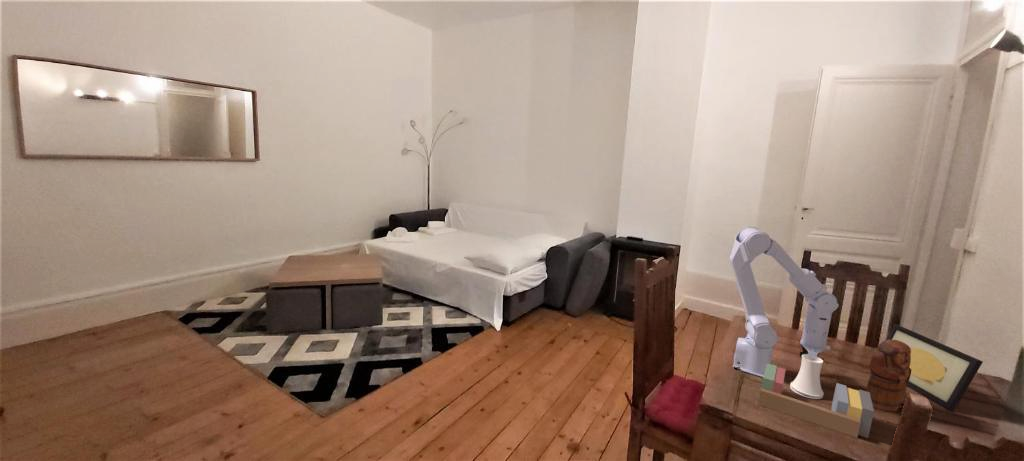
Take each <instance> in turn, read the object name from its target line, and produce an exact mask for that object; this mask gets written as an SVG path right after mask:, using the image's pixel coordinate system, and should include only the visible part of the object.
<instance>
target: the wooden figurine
mask: <svg viewBox="0 0 1024 461" xmlns="http://www.w3.org/2000/svg"><path fill="white" fill-rule="evenodd" d="M910 353H911V349H910V347H909V346H908V345H907V344H905V343H903V342H901V341H898V340H886V339H885V340H884V341H882V342H881V343H880V344H879V345H878V346H877V351H875V352H874V353H873V355H872V356H871V358H870V364H869V370H870V376H869V379H868V380H867V381H868V382H867V386H866V390H865V391H866V392H870V397H871V401H872V405H873V409H877V410H881V411H884V412H885V411H886V412H897V411H898V410H899V409H901V408H902V407H903V406H902V405H903V404H905V399H906V397H907V385H906V383H907V382H909V379H910V375H911V369H910V368H909V366H910V362H911V355H910Z"/></svg>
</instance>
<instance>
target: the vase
mask: <svg viewBox="0 0 1024 461" xmlns="http://www.w3.org/2000/svg"><path fill="white" fill-rule="evenodd" d="M821 358H822V357H819V356H818V357H817V359H812V358H808V354H803V355H802V360H801V363H800V368H799V371H798V374H797V375H796V377H795V378H794V380H793V381H791V382H790V385H789V387H790V389H791V390H792V391H793V392H794V393H795V394H798V395H800V396H801V397H805V398H808V399H812V400H820V399H823V397H824V391H823V389H822V385H821V369H822V366H823V363H824V362H823V360H822V359H821Z"/></svg>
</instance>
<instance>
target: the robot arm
mask: <svg viewBox="0 0 1024 461" xmlns="http://www.w3.org/2000/svg"><path fill="white" fill-rule="evenodd" d="M761 254H765V255H767V256H771V257H772V258H773V259H774V261H776V263H778V264H779V266H781V267H782V268H783V269H784V270H785V271H786V273H788V274H789V275H788V276H789V277H788V280H789V281H788V282H790V284H792V286H793V287H795V289H796V290H797V291H798V292H799V293H800V294H801V295H802V296H803V297H804V299H805V301H806V302H807V308H806V314H805V318H804V320H805V321H804V325H803V330H802V335H801V339H800V342H799V343H800V346H801V350H802V351H799V358H800V359H801V361H802V355H803V354H808V358H812V359H817V357H819V355H820V354H821V353H822V352H824V351H831V346H830V345H827V340H828V335H829V332H830V331H829V329H830V326H831V320H832V315H833V313H834V311H836V310H837V309H838V308H839V306H840V305H839V303H838V299H837V297H836V296H835V295H834V294H832V293H831V292H829V291H828V290H827V289H828V286H827V285H826V284H824V283H823V284H822V282H820V281H819V279H818V278H817V277H816V276H817V273H815V271H813V270H809V269H807V268H801V267H800V266H799V265H798V264H797V263H796V262H795V261H794V260H793V258H792V257H791V256H790V255H789V254H788V252H787V251H786V250H785V249H784V248H783V247H782V246H781V245H780V243H778V242H777V241H776V240H775V239H773V238H772V237H771V236H770V235H769V234H768V233H766V232H764V231H761V230H759V229H758V228H757V227H754V226H746V227H743V228H742V229H741V230H740V231H738V233H737V235H735V237H734V243H733V246H732V250H731V252H730V255H729V262H730V266H731V268H732V272H733V275H734V278H735V282H736V284H737V288H738V292H739V295H740V297H741V301H742V305H743V307H744V311H745V314H744V316H745V325H744V327H745V330H746V332H747V335H746V336H745V337H738V338H737V341H736V346H735V352H734V355H733V363H732V364H733V365H732V368H733V367H734V366H735V367H740V369H741V370H740V371H741V372H745V373H748V374H751V375H754V376H758V377H761V378H763V375H764V371H765V367H766V364H767V363H768V364H771V360H772V354H773V348H774V346H775V345H776V343H777V342H778V338H779V336H778V333H777V332H776V330H774V329H773V328H772V325H771V322H770V321H769V318H768V316H767V314H766V312H765V309H764V306H763V302H762V299H761V295H760V292H759V289H758V285H757V282H756V280H755V275H754V272H753V269H752V265H751V263H752V262H753V261H754V260H755V259H756V258H757V257H758V256H759V257H760V255H761ZM820 358H821V359H822V360H823V363H824V362H825V358H822V357H820ZM737 362H739V363H740V364H739V363H737Z"/></svg>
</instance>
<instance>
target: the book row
mask: <svg viewBox="0 0 1024 461" xmlns="http://www.w3.org/2000/svg"><path fill="white" fill-rule="evenodd" d="M785 375H786V368H784V367H780V366H777V365H775V364H772V363H770V364H768V363H767V364H766V367H765V371H764V375H763V377H762V380H761V386H760V391H759V396H758V405H760V406H762V407H765V408H767V409H771V410H774V411H776V412H780V413H783V414H785V415H788V416H791V417H793V418H797V419H801V420H803V421H806V422H809V423H812V424H814V425H815V424H816V425H818V426H819V427H820V426H821V427H823V428H827V429H830V430H833V431H836V432H839V433H841V434H844V435H848V436H851V437H853V438H855V439H858V436H859V437H863V438H866V439H869V436H870V431H871V428H872V422H873V418H874V413H875V411H874V409H875V408H874V407H873V405H872V401H871V397H870V392H866V390H863V389H853V388H850V387H847V385H845V384H841V383H838V382H836V384H835V389H834V393H833V398H832V403H831V409H828V408H825V407H822V406H819V405H816V404H813V403H809V402H807V401H805V400H801V399H797V398H794V397H791V396H788V395H784V394H782V393H783V387H784V383H785Z"/></svg>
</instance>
